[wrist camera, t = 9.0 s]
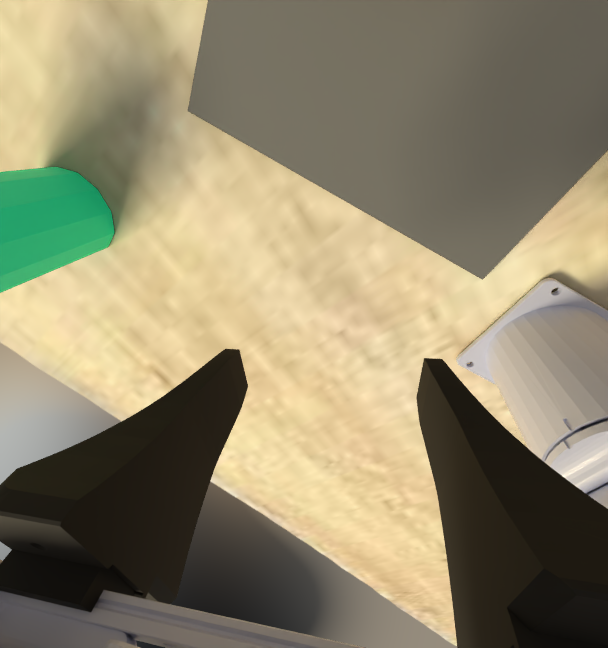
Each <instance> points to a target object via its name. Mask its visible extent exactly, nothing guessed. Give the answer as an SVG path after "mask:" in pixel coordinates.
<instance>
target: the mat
mask: <svg viewBox="0 0 608 648" xmlns="http://www.w3.org/2000/svg"><path fill="white" fill-rule="evenodd" d="M188 111H189V112H190V113H192V114H194V115H196V116H197V117H199V118H201V119H203V120H204V121H206V122H208V123H210V124H211V125H213V126H215V127H217V128H218V129H220V130H222V131H224V132H225V133H227V134H229V135H231V136H232V137H234V138H236V139H238V140H239V141H241V142H243V143H245V144H246V145H248V146H250V147H252V148H253V149H255V150H257V151H259V152H260V153H262V154H264V155H266V156H267V157H269V158H271V159H273V160H274V161H276V162H278V163H280V164H281V165H283V166H285V167H287V168H288V169H290V170H292V171H294V172H295V173H297V174H299V175H301V176H302V177H304V178H306V179H308V180H309V181H311V182H313V183H315V184H316V185H318V186H320V187H322V188H323V189H325V190H327V191H329V192H330V193H332V194H334V195H336V196H337V197H339V198H341V199H343V200H344V201H346V202H348V203H350V204H351V205H353V206H355V207H357V208H358V209H360V210H362V211H364V212H365V213H367V214H369V215H371V216H372V217H374V218H376V219H378V220H379V221H381V222H383V223H385V224H386V225H388V226H390V227H392V228H393V229H395V230H397V231H398V232H400V233H402V234H404V235H405V236H407V237H409V238H411V239H412V240H414V241H416V242H418V243H419V244H421V245H423V246H425V247H426V248H428V249H430V250H432V251H433V252H435V253H437V254H439V255H440V256H442V257H444V258H446V259H447V260H449V261H451V262H453V263H454V264H456V265H458V266H460V267H461V268H463V269H465V270H467V271H468V272H470V273H472V274H474V275H475V276H477V277H479V278H481V279H482V280H483V279H484V278H485V277H486V276H487V274H488V273H489V272H490V271H491V270H492V269H493V268H494V267H495V266H496V265H497V264H498V263H499V262H500V261H501V260H502V259H503V258H504V257H505V256H506V255H507V254H508V253H509V252H510V251H511V250H512V249H513V248H514V247H515V246H516V244H517V243H518V242H519V241H520V240H521V239H522V238H523V237H524V236H525V235H526V234H527V233H528V232H529V231H530V230H531V229H532V228H533V227H534V226H535V225H536V224H537V223H538V222H539V221H540V220H541V219H542V218H543V217H544V216H545V214H546V213H547V212H548V211H549V210H550V209H551V208H552V207H553V206H554V205H555V204H556V203H557V202H558V201H559V200H560V199H561V198H562V197H563V196H564V195H565V194H566V193H567V192H568V191H569V190H570V189H571V188H572V187H573V186H574V184H575V183H576V182H577V181H578V180H579V179H580V178H581V177H582V176H583V175H584V174H585V173H586V172H587V171H588V170H589V169H590V168H591V167H592V166H593V165H594V164H595V163H596V162H597V161H598V160H599V159H600V158H601V157H602V156H603V154H604V153H605V152H606V151H607V150H608V0H208V4H207V9H206V15H205V20H204V25H203V31H202V36H201V42H200V47H199V53H198V58H197V63H196V69H195V74H194V80H193V85H192V91H191V96H190V101H189V107H188Z"/></svg>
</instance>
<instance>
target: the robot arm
mask: <svg viewBox="0 0 608 648" xmlns="http://www.w3.org/2000/svg"><path fill="white" fill-rule="evenodd" d="M555 288H558V290H557V291H555V292H553V293H551V291H552V290H553V289H555ZM456 361H457V363H458V365H460V366H461V367H463V368H465V369H467V370H469V371H471V372H473V373H475V374H476V375H478V376H480V377H482V378H484V379H486V380H488V381H490V382H491V383H493V384H495V385H496V386H497V387H498V389H499V391H500V393H501V395H502V397H503V399H504V401H505V403H506V405H507V407H508V409H509V411H510V413H511V415H512V417H513V419H514V421H515V423H516V425H517V427H518V429H519V431H520V433H521V435H522V437H523V439H524V441H525V442H526V444H527V446H528V448H529V449H528V448H527V447H526V446H524V445H523V444H522V443H521V442H520V441H519V440H518V439H516V438H515V437H514V436H513V435H512V434H511V433H510V432H509V431H508V430H506V429H505V428H504V427H503V426H502V425H501V424H500V423H499V422H498V421H497V420H496V419H495V418H494V417H493V416H492V415H491V414H490V413H489V412H488V411H487V410H486V409H485V408H484V407H483V405H482V404H481V403H480V402H479V401H478V400H477V399H476V398H475V397H474V396H473V395H472V394H471V392H470V391H469V390H468V389H467V388H466V387H465V386H464V384H463V383H462V382H461V381H460V380H459V379H458V377H457V376H456V375H455V374H454V373H453V371H452V370H451V369H450V368H449V367H448V365H447V364H446V363H445V362H444V361H443V360H442V359H429V358H424V362H423V367H422V372H421V377H420V382H419V388H418V393H417V406H418V414H419V421H420V426H421V430H422V434H423V438H424V442H425V446H426V450H427V454H428V458H429V462H430V466H431V469H432V473H433V477H434V481H435V485H436V490H437V495H438V501H439V507H440V513H441V520H442V526H443V533H444V540H445V547H446V554H447V561H448V569H449V577H450V585H451V593H452V601H453V610H454V620H455V629H456V638H457V648H608V310H606V309H605V308H603V307H601V306H599V305H598V304H596V303H594V302H593V301H591V300H589V299H588V298H586V297H584V296H582V295H581V294H579V293H577V292H576V291H574V290H572V289H571V288H569V287H567V286H566V285H564V284H562V283H560V282H559V281H557V280H555V279H553V278H546V279H543V280H542V281H540V282H539V283H538V284H537V285H536V286H535V287H534V288H533V289H532V290H530V291H529V292H528V293H527V294H526V295H525V296H524V297H523V298H522V299H520V300H519V301H518V302H517V303H516V304H515V305H514V306H513V307H512V308H510V309H509V310H508V311H507V312H506V313H505V314H504V315H503V316H502V317H500V318H499V319H498V320H497V321H496V322H495V323H494V324H493V325H492V326H490V327H489V328H488V329H487V330H486V331H485V332H484V333H483V334H482V335H480V336H479V337H478V338H477V339H476V340H475V341H474V342H473V343H472V344H470V345H469V346H468V347H467V348H466V349H465V350H464V351H463V352H462V353H460V354H459V355H458V356H457V358H456ZM468 362H472V363H471V364H467V363H468ZM247 388H248V384H247V380H246V376H245V372H244V368H243V363H242V359H241V355H240V351H239V350H236V349H225V350H223V351H222V352H221V353H219V354H218V355H217V356H215V357H214V358H213V359H212V360H210V361H209V362H208V363H207V364H205V365H204V366H203V367H202V368H200V369H199V370H198V371H196V372H195V373H194V374H193V375H191V376H190V377H189V378H188V379H186V380H185V381H184V382H182V383H181V384H179V385H178V386H177V387H175V388H174V389H173V390H171V391H170V392H168V393H167V394H166V395H164V396H163V397H161V398H160V399H158V400H157V401H155V402H154V403H152V404H151V405H149V406H148V407H146V408H144V409H143V410H141V411H139V412H138V413H136V414H134V415H133V416H131V417H129V418H127V419H126V420H124V421H122V422H120V423H118V424H116V425H115V426H113V427H111V428H109V429H107V430H105V431H103V432H101V433H99V434H97V435H95V436H93V437H91V438H89V439H87V440H85V441H83V442H81V443H78V444H76V445H74V446H72V447H69V448H67V449H65V450H63V451H60V452H58V453H56V454H53V455H51V456H48V457H46V458H43V459H41V460H38V461H36V462H33V463H31V464H28V465H26V466H23V467H20V468H18V469H16V470H15V471H14V472H13V473H12V474H11V475H10V476H9V477H8V478H7V479H6V480H5V481H4V482H3V483H2V484H1V485H0V541H1V542H2V543H3V544H5V545H6V546H8V547H9V548H11V549H12V551H11V552H10V553H9V554H8V555H7V557H6V558H5V559H4V560H3V561H2V560H0V648H140V647H137V644H136V641H135V640H138V641H142V642H146V643H150V644H154V645H158V646H162V647H166V648H364V647H359V646H355V645H351V644H346V643H342V642H337V641H333V640H328V639H324V638H319V637H315V636H310V635H305V634H301V633H297V632H292V631H288V630H283V629H278V628H274V627H269V626H265V625H260V624H256V623H251V622H247V621H242V620H238V619H233V618H229V617H224V616H219V615H215V614H210V613H206V612H202V611H197V610H192V609H188V608H183V607H179V606H174V605H170V603H172V602H173V601H174V600H175V599H176V597H177V594H178V590H179V585H180V581H181V578H182V574H183V570H184V566H185V562H186V559H187V555H188V551H189V548H190V544H191V541H192V537H193V534H194V530H195V527H196V523H197V520H198V517H199V514H200V510H201V507H202V504H203V501H204V498H205V495H206V492H207V489H208V485H209V483H210V480H211V477H212V474H213V471H214V468H215V466H216V463H217V461H218V459H219V456H220V454H221V452H222V450H223V448H224V445H225V443H226V441H227V439H228V437H229V434H230V432H231V430H232V428H233V426H234V423H235V421H236V419H237V417H238V415H239V412H240V410H241V407H242V404H243V401H244V398H245V395H246V391H247Z"/></svg>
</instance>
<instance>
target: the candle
mask: <svg viewBox="0 0 608 648" xmlns="http://www.w3.org/2000/svg"><path fill="white" fill-rule="evenodd" d="M114 234H115V231H114V225H113V219H112V213H111V211H110V209H109V207H108V206H107V204H106V202H105V201H104V199H103V197H102V196H101V194H100V192H99V191H98V189H97V188H95V187H94V186H93V185H92V184H91V183H89V182H88V181H87V180H86V179H85V178H83V177H82V176H81V175H80V174H79V173H77V172H74V171H70V170H67V169H63V168H59V167H48V168H37V169H27V170H17V171H6V172H0V293H1V292H3V291H6V290H8V289H10V288H13V287H15V286H17V285H20V284H22V283H25V282H27V281H29V280H32V279H34V278H36V277H39V276H41V275H43V274H46V273H48V272H51V271H53V270H55V269H58V268H60V267H62V266H65V265H67V264H70V263H72V262H74V261H77V260H79V259H81V258H84V257H86V256H88V255H91V254H93V253H96V252H98V251H100V250H103V249H105V248H107V247H109V244H110V242H111V240H112V238H113V236H114Z"/></svg>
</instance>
